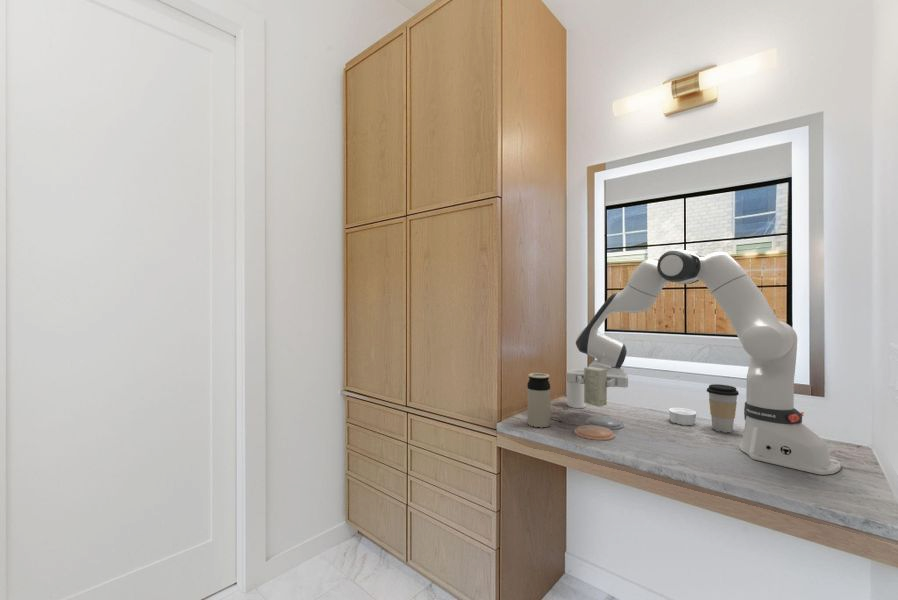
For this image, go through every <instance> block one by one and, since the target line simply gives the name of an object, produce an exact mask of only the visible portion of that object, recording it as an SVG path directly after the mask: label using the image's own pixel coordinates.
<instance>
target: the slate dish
mask: <svg viewBox="0 0 898 600" xmlns="http://www.w3.org/2000/svg"><path fill="white" fill-rule="evenodd" d="M585 423H586V424H585V425H596V426H602V427H605V428H608V429H610V430H611V431H615V430H620V429H623V428H624V427H625V423H624V422H623V421H621V420H619V418H618V419H617V418H614V417H609V416H605V415H602V416H601V415H597V416H595V415H593V416H590V417H589V418H587V419H586V420H585Z"/></svg>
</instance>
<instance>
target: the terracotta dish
mask: <svg viewBox="0 0 898 600" xmlns="http://www.w3.org/2000/svg"><path fill="white" fill-rule="evenodd" d="M573 431H574V434H575V435H576V436H578V437H581V438H582V439H587V440H593V441H610V440H613V439H614V438H616V433H615V432H614V430H610V429H608V428H605V427H602V426H596V425H587V424H583V425H579V426H577V427H575V428H574V430H573Z"/></svg>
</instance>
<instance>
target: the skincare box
mask: <svg viewBox="0 0 898 600" xmlns="http://www.w3.org/2000/svg"><path fill="white" fill-rule="evenodd" d="M583 369H584V403H587V405H591V406H594V407H597V408H599V407H604V406H607V398H608V397H607V394H608V393H607V389H608V387H607V386H606V384H607V369H602V368H597V367H589V366H587V367H584V368H583Z"/></svg>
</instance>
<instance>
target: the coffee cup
mask: <svg viewBox="0 0 898 600" xmlns="http://www.w3.org/2000/svg"><path fill="white" fill-rule="evenodd" d="M705 391H706V392H707V393H708V398H709V399H708V401H709V412H710V416H711V426H712V429H713V430H714V429H715V430H714V431H716V430H718V431H717V432H720V431H722V432H721V433H727V432H730V433H732V432H733V430H734V421H735V418H736V410H737V400H738V396H739V394H740V393H739V391H738V390H737V387H735V386H732V385H728V384H716V383H715V384H713V383H712V384H709V385H708V387H707V388H706V390H705Z"/></svg>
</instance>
